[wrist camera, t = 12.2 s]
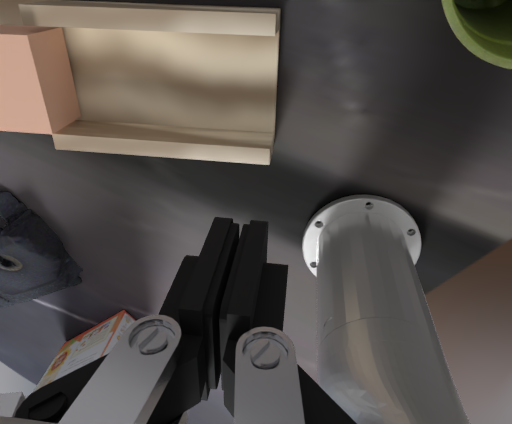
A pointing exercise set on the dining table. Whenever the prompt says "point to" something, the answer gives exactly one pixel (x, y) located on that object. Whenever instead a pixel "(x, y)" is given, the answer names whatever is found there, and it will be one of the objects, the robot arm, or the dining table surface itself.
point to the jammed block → (35, 80)
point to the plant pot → (483, 28)
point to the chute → (166, 76)
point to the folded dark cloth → (30, 256)
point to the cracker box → (87, 347)
